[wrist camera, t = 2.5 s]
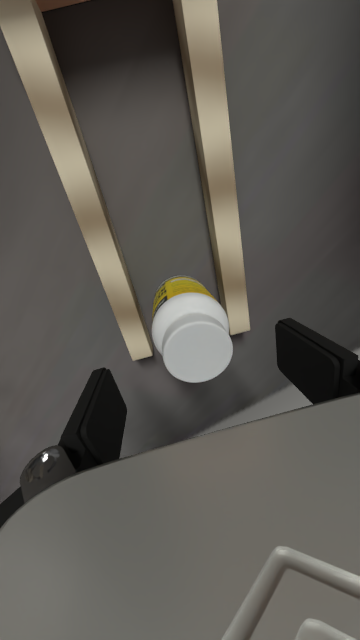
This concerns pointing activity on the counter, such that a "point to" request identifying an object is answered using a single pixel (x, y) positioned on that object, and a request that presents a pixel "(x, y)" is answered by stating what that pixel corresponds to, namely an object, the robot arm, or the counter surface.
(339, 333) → the counter surface
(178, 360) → the supplement bottle
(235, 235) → the wooden u-shaped frame
